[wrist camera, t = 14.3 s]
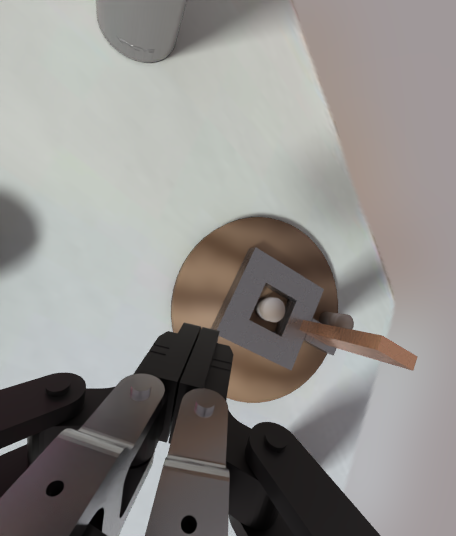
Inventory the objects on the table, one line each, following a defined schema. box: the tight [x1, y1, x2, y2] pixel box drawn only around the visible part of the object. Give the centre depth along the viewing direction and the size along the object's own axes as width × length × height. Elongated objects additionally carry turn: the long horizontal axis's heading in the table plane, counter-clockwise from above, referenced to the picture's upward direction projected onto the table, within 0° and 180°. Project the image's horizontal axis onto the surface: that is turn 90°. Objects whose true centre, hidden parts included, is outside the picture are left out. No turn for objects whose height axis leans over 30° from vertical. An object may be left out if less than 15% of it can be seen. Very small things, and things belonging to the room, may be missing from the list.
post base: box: [171, 217, 354, 403], centre depth 38 cm, size 24×24×6 cm
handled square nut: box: [211, 247, 417, 370], centre depth 33 cm, size 17×11×14 cm
